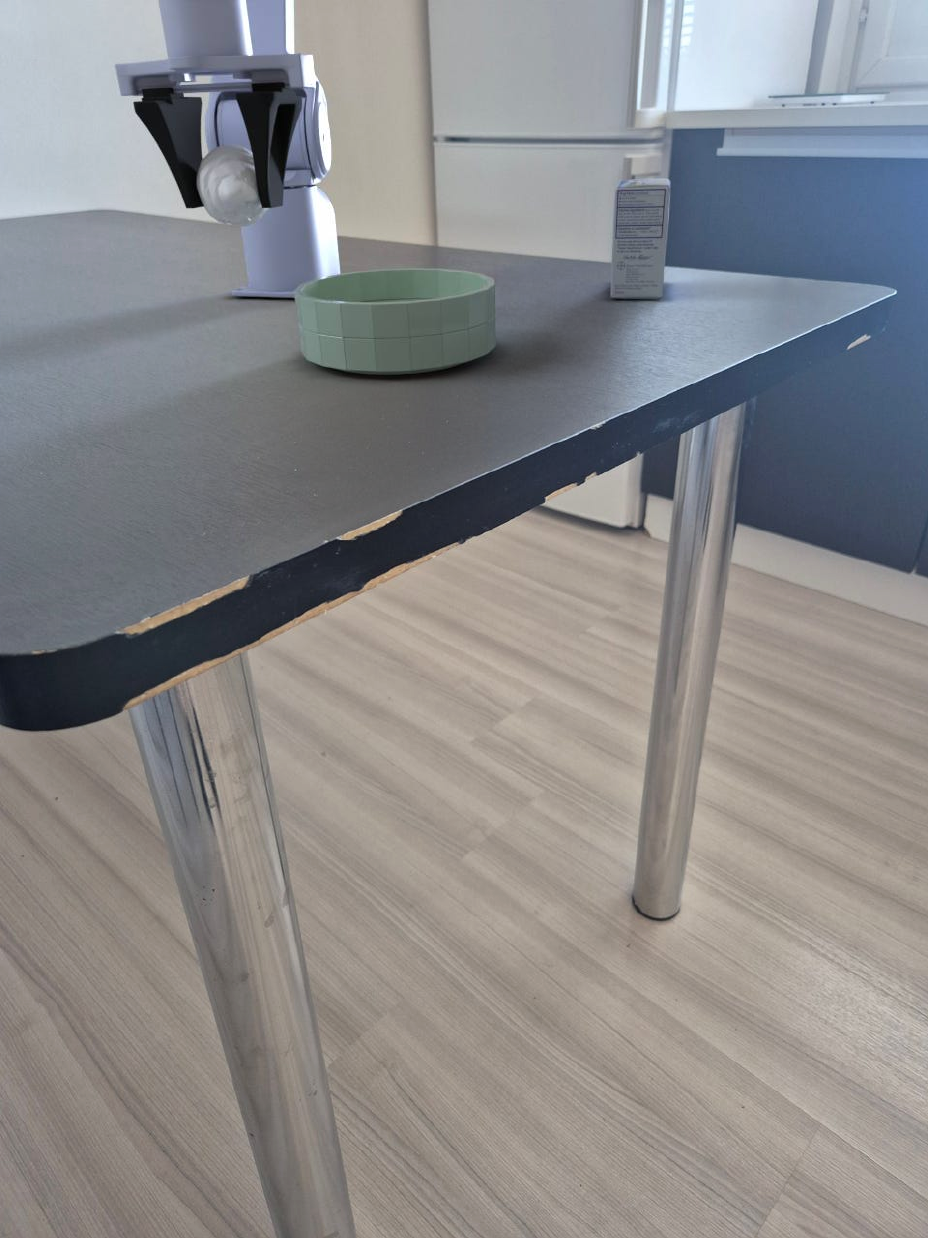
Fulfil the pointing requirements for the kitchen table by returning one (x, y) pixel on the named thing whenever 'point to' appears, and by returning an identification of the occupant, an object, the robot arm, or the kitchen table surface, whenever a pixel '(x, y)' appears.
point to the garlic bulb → (230, 186)
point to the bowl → (396, 320)
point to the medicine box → (639, 238)
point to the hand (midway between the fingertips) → (233, 207)
